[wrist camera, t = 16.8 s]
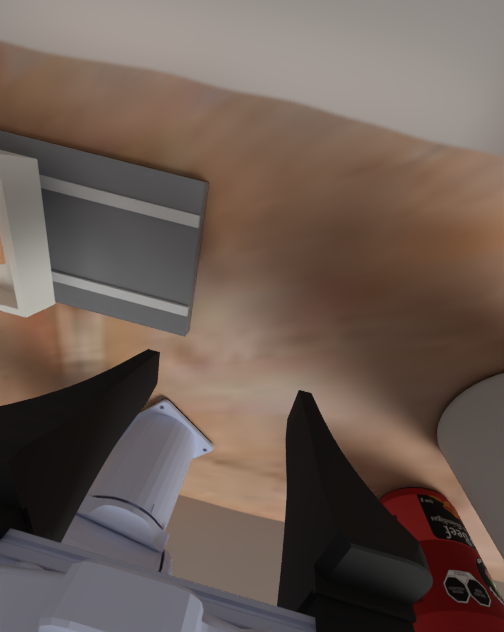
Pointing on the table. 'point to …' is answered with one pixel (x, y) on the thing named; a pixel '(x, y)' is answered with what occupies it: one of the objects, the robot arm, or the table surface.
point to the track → (119, 234)
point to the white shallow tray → (23, 238)
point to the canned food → (447, 566)
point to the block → (2, 254)
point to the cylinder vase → (478, 450)
